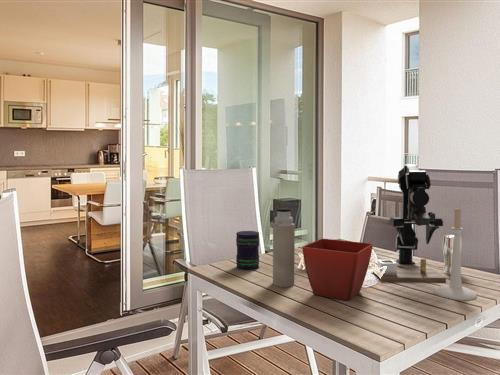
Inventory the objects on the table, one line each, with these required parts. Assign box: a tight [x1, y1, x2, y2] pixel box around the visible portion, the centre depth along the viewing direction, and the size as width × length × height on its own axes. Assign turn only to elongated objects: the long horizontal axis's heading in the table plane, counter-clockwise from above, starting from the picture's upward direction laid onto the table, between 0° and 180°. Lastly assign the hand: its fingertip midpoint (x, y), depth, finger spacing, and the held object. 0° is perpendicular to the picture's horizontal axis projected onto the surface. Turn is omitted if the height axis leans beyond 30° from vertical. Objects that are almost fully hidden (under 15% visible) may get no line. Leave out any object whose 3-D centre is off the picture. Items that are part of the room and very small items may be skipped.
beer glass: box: [442, 234, 463, 275], centre depth 178 cm, size 7×7×15 cm
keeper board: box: [380, 258, 447, 283], centre depth 172 cm, size 14×24×7 cm, turn 88°
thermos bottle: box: [272, 207, 296, 288], centre depth 162 cm, size 8×8×28 cm
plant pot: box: [302, 238, 374, 301], centre depth 151 cm, size 19×19×17 cm
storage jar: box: [235, 230, 260, 272], centre depth 186 cm, size 10×10×15 cm
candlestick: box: [434, 207, 477, 301], centre depth 149 cm, size 13×13×30 cm
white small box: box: [376, 259, 398, 275], centre depth 172 cm, size 6×6×4 cm
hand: (415, 244), depth 169 cm, fingers open, 9 cm apart
